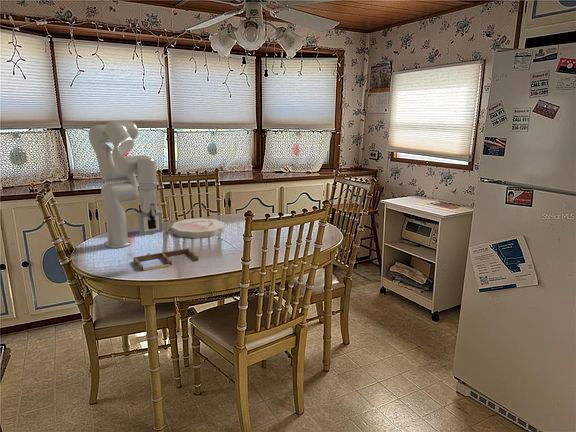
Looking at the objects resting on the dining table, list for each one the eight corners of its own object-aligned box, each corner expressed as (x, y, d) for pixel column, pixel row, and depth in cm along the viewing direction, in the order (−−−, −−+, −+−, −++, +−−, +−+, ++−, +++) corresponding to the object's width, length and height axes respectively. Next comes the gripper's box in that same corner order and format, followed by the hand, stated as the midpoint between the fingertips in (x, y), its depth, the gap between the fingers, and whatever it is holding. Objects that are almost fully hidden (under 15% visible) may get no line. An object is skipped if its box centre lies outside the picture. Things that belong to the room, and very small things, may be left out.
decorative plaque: (160, 226, 230) (197, 216, 255) (160, 232, 231) (197, 221, 256) (200, 235, 215) (235, 223, 240) (200, 241, 216) (235, 229, 241)
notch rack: (133, 261, 185) (133, 255, 185) (188, 251, 199) (188, 246, 198) (141, 271, 174) (140, 265, 173) (199, 260, 188) (198, 255, 187)
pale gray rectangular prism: (139, 232, 179) (137, 212, 176) (159, 229, 183) (158, 210, 181) (141, 234, 175) (140, 214, 173) (162, 231, 180) (161, 212, 178)
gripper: (134, 184, 179) (137, 224, 184) (143, 190, 165) (146, 233, 170) (151, 183, 183) (154, 222, 187) (162, 188, 169) (164, 230, 174)
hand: (150, 227), depth 179 cm, fingers closed on pale gray rectangular prism, 4 cm apart
